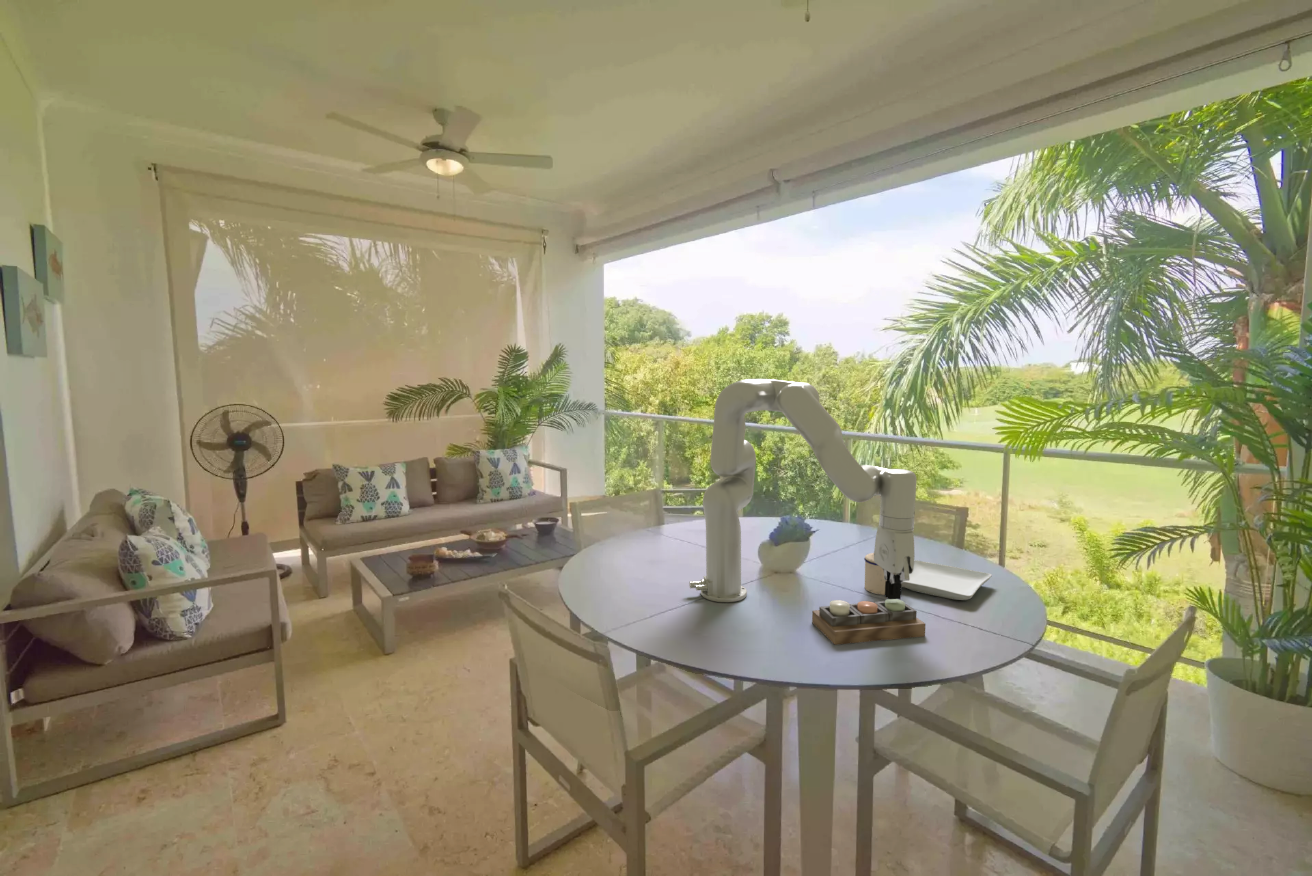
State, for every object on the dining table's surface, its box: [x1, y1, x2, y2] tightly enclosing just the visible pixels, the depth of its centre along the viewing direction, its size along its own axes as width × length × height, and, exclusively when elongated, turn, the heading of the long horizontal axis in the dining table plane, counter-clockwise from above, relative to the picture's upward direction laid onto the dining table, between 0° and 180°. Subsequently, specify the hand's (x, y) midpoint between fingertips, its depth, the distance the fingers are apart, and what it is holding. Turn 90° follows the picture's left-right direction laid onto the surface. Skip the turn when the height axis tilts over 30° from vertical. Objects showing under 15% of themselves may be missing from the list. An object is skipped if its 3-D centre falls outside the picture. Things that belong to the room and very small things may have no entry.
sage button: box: [884, 598, 906, 612], centre depth 139 cm, size 4×4×2 cm
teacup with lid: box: [863, 552, 898, 596], centre depth 164 cm, size 12×9×12 cm
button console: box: [811, 600, 926, 646], centre depth 138 cm, size 22×12×5 cm, turn 99°
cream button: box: [829, 599, 851, 616], centre depth 136 cm, size 4×4×2 cm
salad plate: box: [901, 559, 992, 601], centre depth 164 cm, size 21×21×3 cm
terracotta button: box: [857, 600, 878, 614], centre depth 138 cm, size 4×4×2 cm
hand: (892, 597), depth 139 cm, fingers closed
